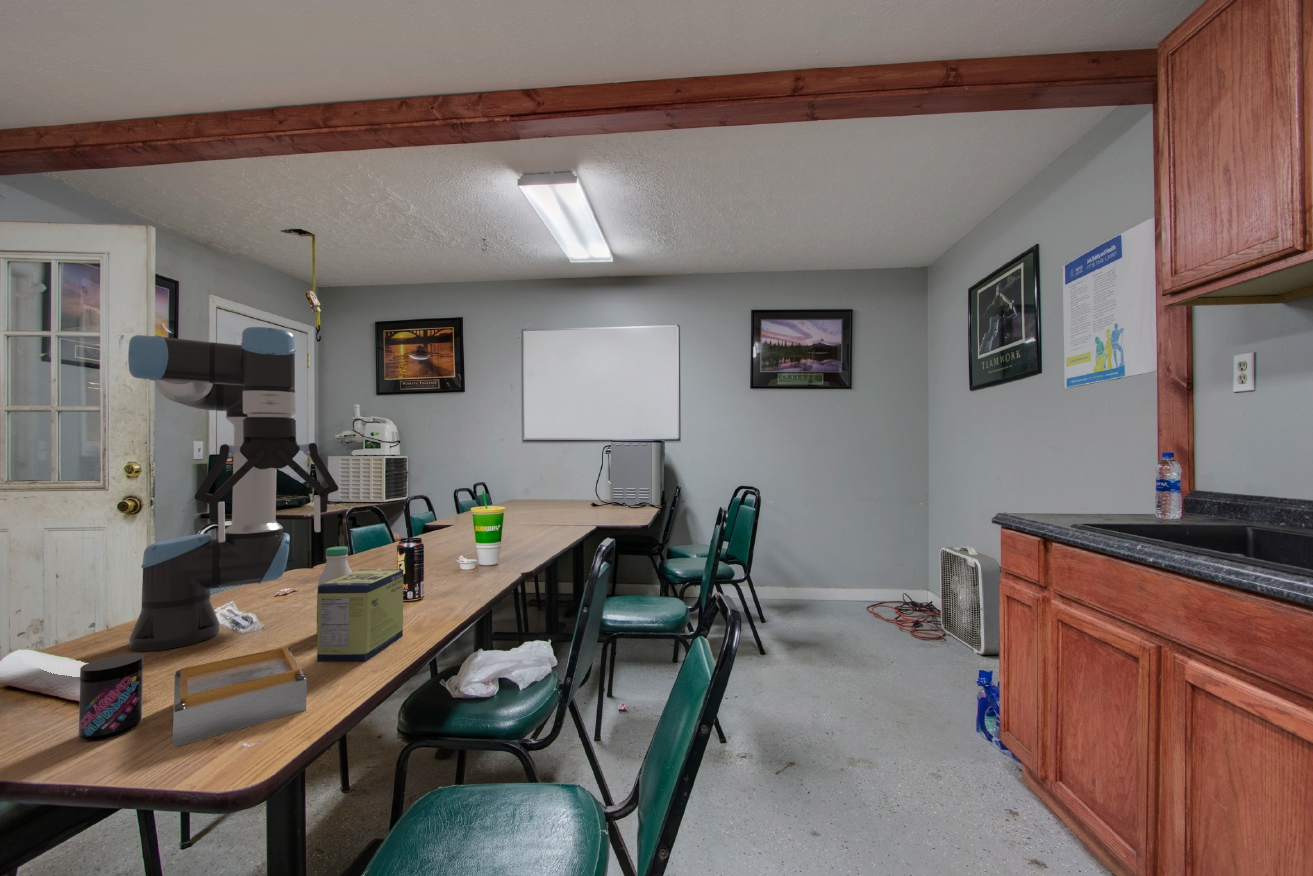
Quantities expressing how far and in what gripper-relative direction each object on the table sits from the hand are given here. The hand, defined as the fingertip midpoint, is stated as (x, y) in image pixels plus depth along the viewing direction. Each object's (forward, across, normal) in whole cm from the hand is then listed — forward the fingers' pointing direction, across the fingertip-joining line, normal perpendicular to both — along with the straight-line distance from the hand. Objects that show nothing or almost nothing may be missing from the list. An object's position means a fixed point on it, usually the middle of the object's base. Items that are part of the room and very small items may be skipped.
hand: (271, 535), depth 92 cm
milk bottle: (+29, +13, +29) cm, 43 cm away
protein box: (+29, +16, +13) cm, 36 cm away
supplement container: (+27, -20, -1) cm, 34 cm away
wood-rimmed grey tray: (+27, -5, -4) cm, 28 cm away
